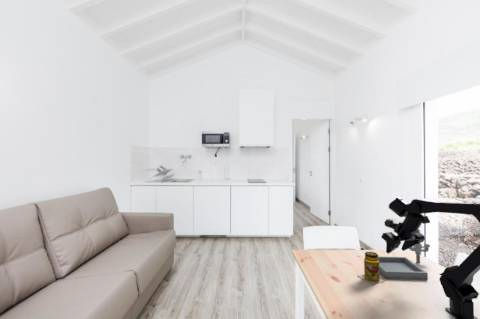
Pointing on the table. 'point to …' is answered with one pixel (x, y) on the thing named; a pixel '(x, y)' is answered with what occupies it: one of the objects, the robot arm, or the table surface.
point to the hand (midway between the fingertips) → (395, 251)
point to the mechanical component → (419, 250)
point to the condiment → (371, 268)
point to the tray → (400, 268)
